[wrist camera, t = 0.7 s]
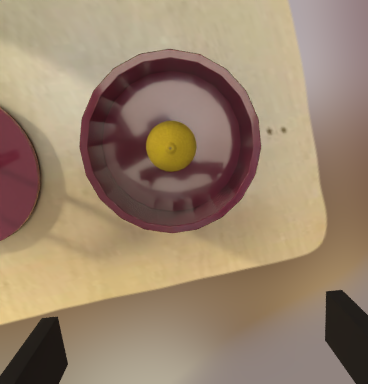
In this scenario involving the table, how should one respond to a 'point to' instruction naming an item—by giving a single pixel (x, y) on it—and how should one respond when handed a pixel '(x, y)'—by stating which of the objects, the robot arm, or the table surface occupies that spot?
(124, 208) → the pot
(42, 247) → the table surface
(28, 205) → the lid
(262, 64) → the table surface
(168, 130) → the lemon
